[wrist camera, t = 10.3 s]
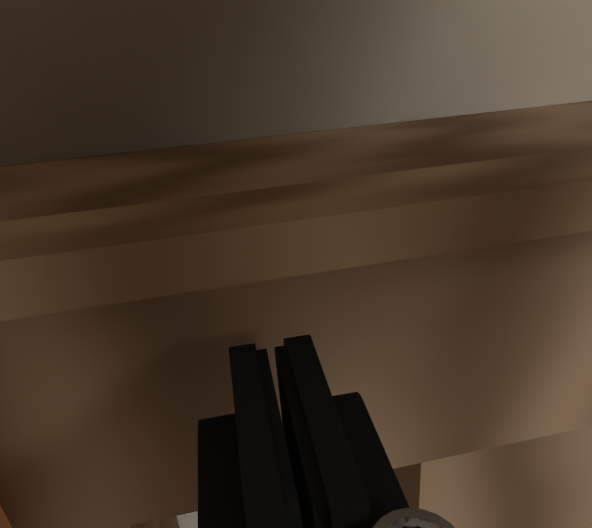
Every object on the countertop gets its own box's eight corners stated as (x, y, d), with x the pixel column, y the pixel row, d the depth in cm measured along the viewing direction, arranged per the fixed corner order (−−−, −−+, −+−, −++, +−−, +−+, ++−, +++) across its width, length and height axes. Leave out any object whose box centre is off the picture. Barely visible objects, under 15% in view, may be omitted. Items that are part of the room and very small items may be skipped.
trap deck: (602, 99, 16) (900, 147, 9) (530, 477, 23) (668, 656, 17) (-436, 215, 12) (-1234, 446, 5) (-125, 626, 19) (-292, 939, 13)
